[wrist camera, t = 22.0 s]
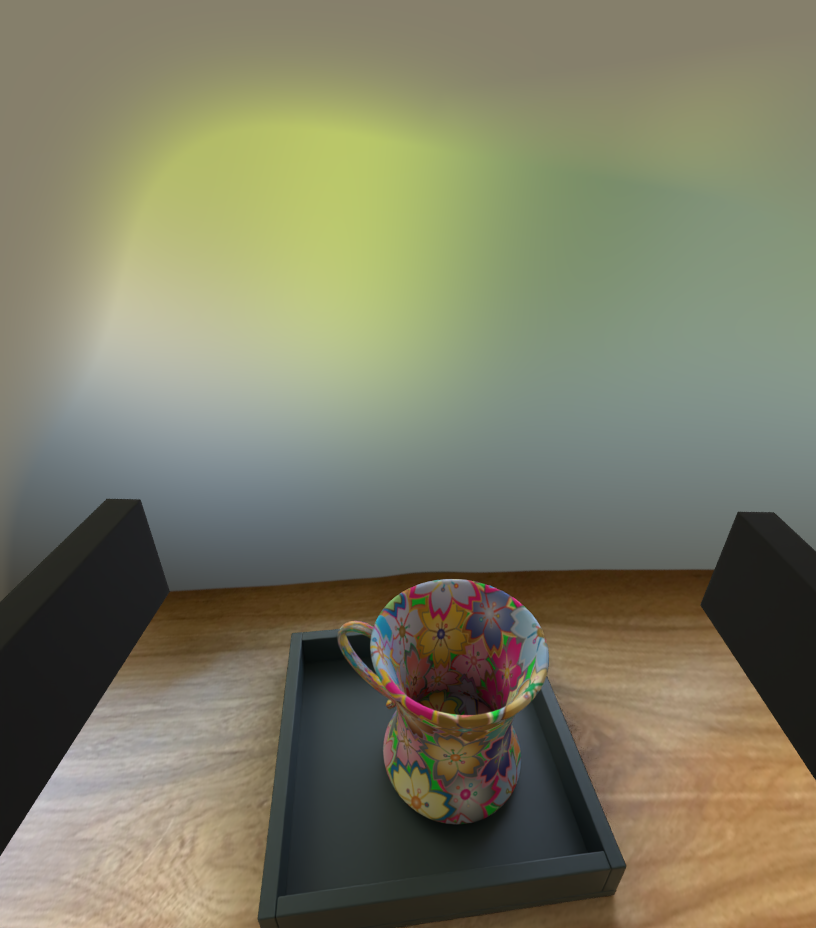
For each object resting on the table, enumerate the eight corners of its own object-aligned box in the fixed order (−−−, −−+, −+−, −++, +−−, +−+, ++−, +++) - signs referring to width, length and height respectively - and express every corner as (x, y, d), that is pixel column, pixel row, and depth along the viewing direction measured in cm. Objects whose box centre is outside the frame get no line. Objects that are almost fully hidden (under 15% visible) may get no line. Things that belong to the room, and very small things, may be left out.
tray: (267, 947, 24) (257, 920, 22) (296, 660, 38) (291, 632, 37) (614, 895, 25) (627, 866, 24) (516, 640, 40) (520, 612, 38)
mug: (536, 717, 33) (559, 601, 28) (509, 871, 26) (533, 752, 21) (376, 663, 37) (370, 553, 32) (311, 783, 30) (290, 664, 24)
